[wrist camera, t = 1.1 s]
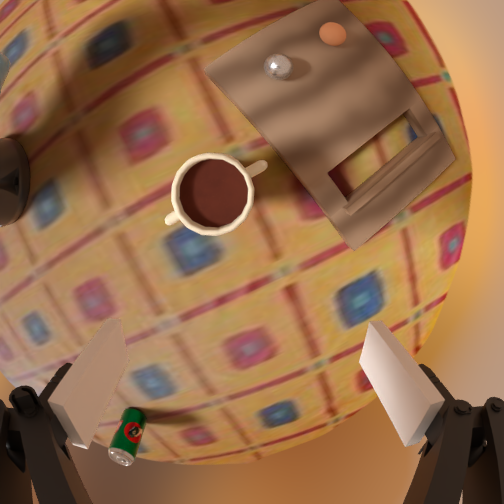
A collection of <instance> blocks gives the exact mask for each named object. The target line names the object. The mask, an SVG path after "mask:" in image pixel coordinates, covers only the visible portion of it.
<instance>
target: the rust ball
mask: <svg viewBox="0 0 504 504" xmlns="http://www.w3.org/2000/svg"><path fill="white" fill-rule="evenodd" d="M319 35H320V38H321V39H322V41H323V42H324V43H326V44H328V45H331V46H338V45H341V44H342V43H343V42H344V41H345V39H346V31H345V29H344V28H343V27H342V26H341V25H339V24H337V23H334V22H328V23H325V24H324V25H322V27H321V28H320V31H319Z"/></svg>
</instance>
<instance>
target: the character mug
mask: <svg viewBox="0 0 504 504" xmlns="http://www.w3.org/2000/svg"><path fill="white" fill-rule="evenodd" d="M267 167H268V166H267V162H266V161H265V160H259V161H257V162H255V163H253V164H251V165H250V166H248V167H246V168H244V166H243V165H242V164H241V163H240V162H239V161H238V160H236V159H235V158H233V157H232V156H230V155H227V154H222V153H204V154H200V155H197V156H194V157H192V158H190V159H189V160H188V161H186V162H185V163H184V164H183V165H182V167H181V168H180V169H179V170H178V171H177V174H176V176H175V179H174V181H173V184H172V204H173V207H174V210H175V211H173V212H172V213H170V214H168V215H167V216H166V218H165V223H166V224H167V225H173V224H175V223H177V222H178V221H180V220H181V221H182V223H183V224H184V225H185V226H186V227H187V228H189V229H191V230H193V231H195V232H197V233H199V234H201V235H213V236H219V235H222V234H225V233H228V232H231V231H234V230H235V229H236V228H237V227H238V226H239V225H240V224H242V223H243V222H244V221H245V220H246V218H247V216H248V214H249V212H250V210H251V208H252V206H253V201H254V186H253V183H252V180H251V178H252V177H254V176H256V175H257V174H259V173H261V172H263V171H264V170H266V168H267Z"/></svg>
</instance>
